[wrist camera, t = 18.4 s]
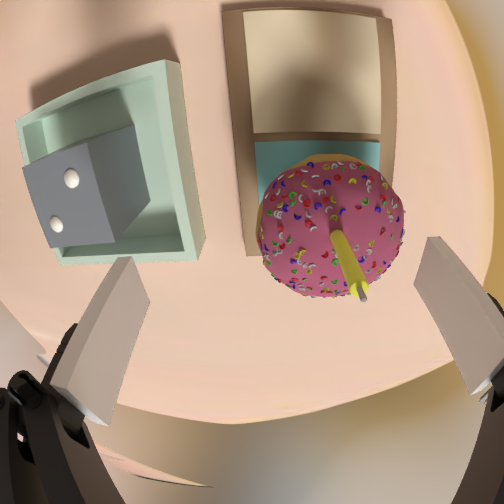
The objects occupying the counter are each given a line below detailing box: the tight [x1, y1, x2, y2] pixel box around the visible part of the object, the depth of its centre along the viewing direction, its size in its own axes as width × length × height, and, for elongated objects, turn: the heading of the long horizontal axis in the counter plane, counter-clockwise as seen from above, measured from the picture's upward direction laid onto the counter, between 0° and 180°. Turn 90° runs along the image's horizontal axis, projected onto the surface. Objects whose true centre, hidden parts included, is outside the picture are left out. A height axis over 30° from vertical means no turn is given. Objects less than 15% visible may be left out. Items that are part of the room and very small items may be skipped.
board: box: [222, 7, 397, 256], centre depth 16 cm, size 11×18×1 cm, turn 5°
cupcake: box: [256, 154, 406, 302], centre depth 13 cm, size 9×8×12 cm
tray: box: [15, 59, 206, 265], centre depth 17 cm, size 14×14×3 cm
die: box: [22, 124, 151, 248], centre depth 16 cm, size 6×6×6 cm
